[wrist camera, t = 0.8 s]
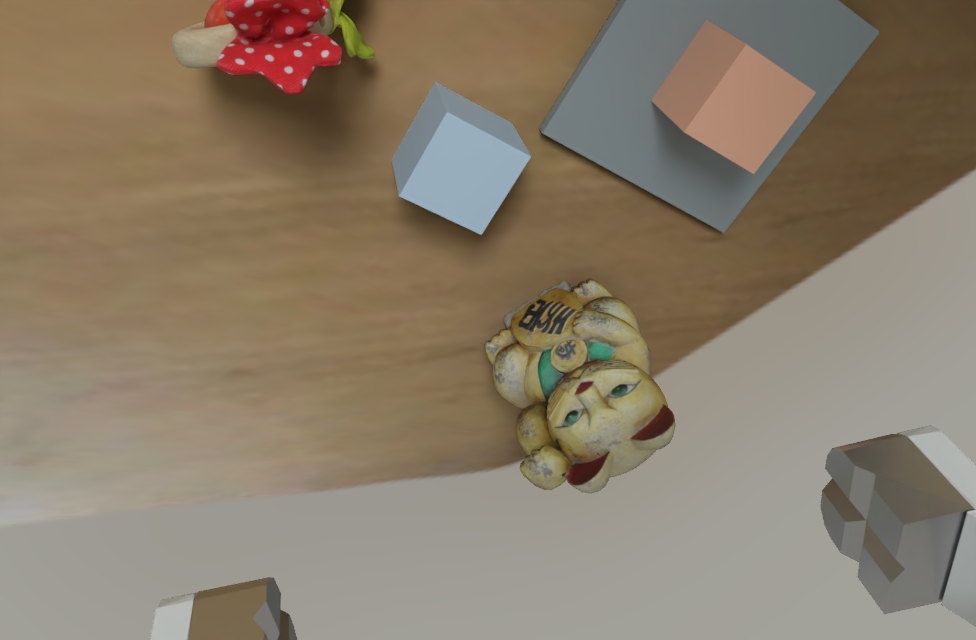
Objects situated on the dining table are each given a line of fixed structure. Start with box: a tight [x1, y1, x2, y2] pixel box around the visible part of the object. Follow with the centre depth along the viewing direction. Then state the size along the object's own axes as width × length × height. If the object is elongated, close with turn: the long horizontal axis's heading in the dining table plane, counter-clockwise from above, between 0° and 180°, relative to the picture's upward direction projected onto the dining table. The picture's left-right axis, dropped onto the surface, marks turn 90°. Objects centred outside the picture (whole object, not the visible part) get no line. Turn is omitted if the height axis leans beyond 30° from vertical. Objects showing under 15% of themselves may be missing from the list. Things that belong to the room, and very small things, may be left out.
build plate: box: [539, 0, 880, 233], centre depth 46 cm, size 14×14×1 cm
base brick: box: [651, 20, 816, 174], centre depth 44 cm, size 5×5×5 cm
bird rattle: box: [172, 0, 375, 95], centre depth 37 cm, size 6×11×9 cm
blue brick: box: [392, 82, 531, 235], centre depth 44 cm, size 5×5×5 cm
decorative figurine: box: [485, 279, 675, 493], centre depth 48 cm, size 10×8×15 cm
